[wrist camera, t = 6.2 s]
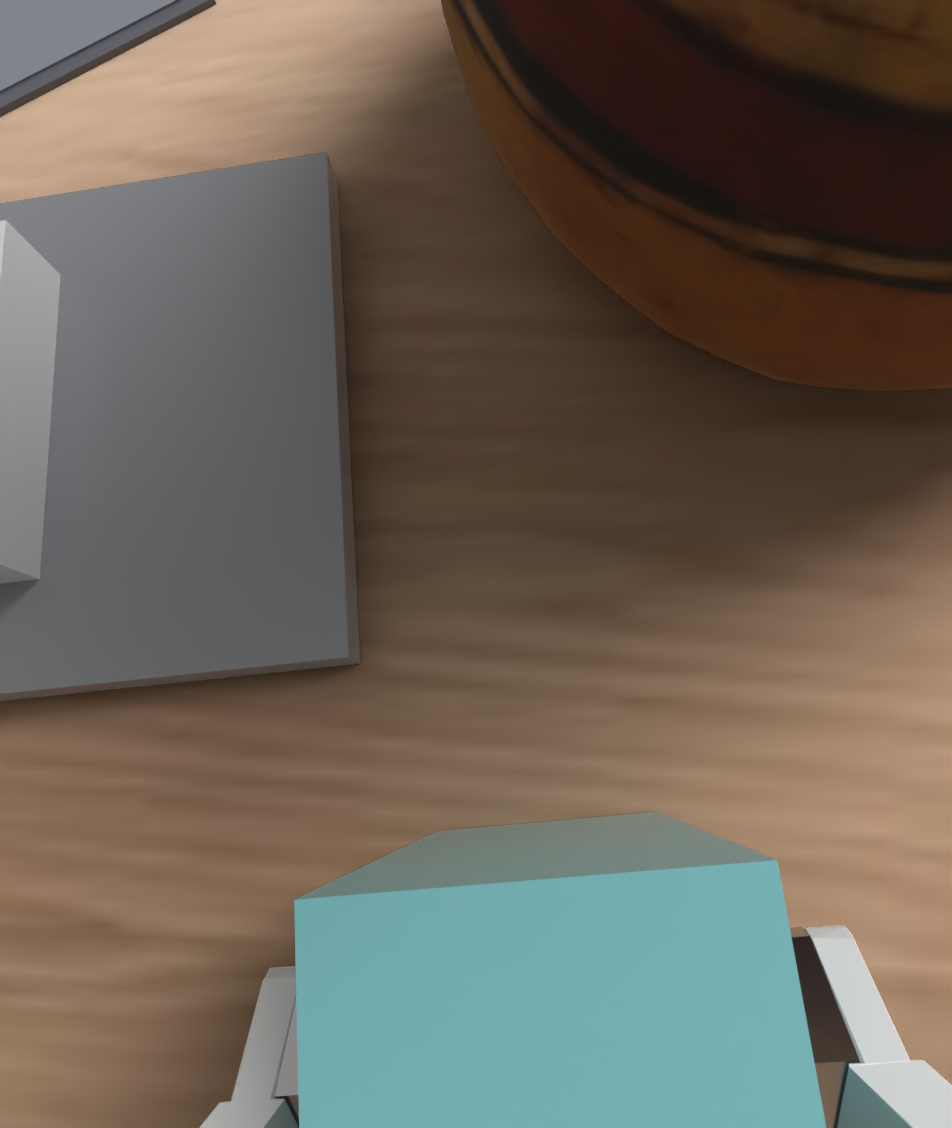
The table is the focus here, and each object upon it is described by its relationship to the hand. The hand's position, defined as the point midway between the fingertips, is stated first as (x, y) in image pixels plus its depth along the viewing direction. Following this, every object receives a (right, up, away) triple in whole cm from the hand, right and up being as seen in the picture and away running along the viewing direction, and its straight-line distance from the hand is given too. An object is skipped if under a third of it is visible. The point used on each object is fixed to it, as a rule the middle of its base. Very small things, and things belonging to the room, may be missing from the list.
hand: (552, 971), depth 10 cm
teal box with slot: (+1, -2, +5) cm, 5 cm away
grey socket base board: (-15, +8, +9) cm, 20 cm away
